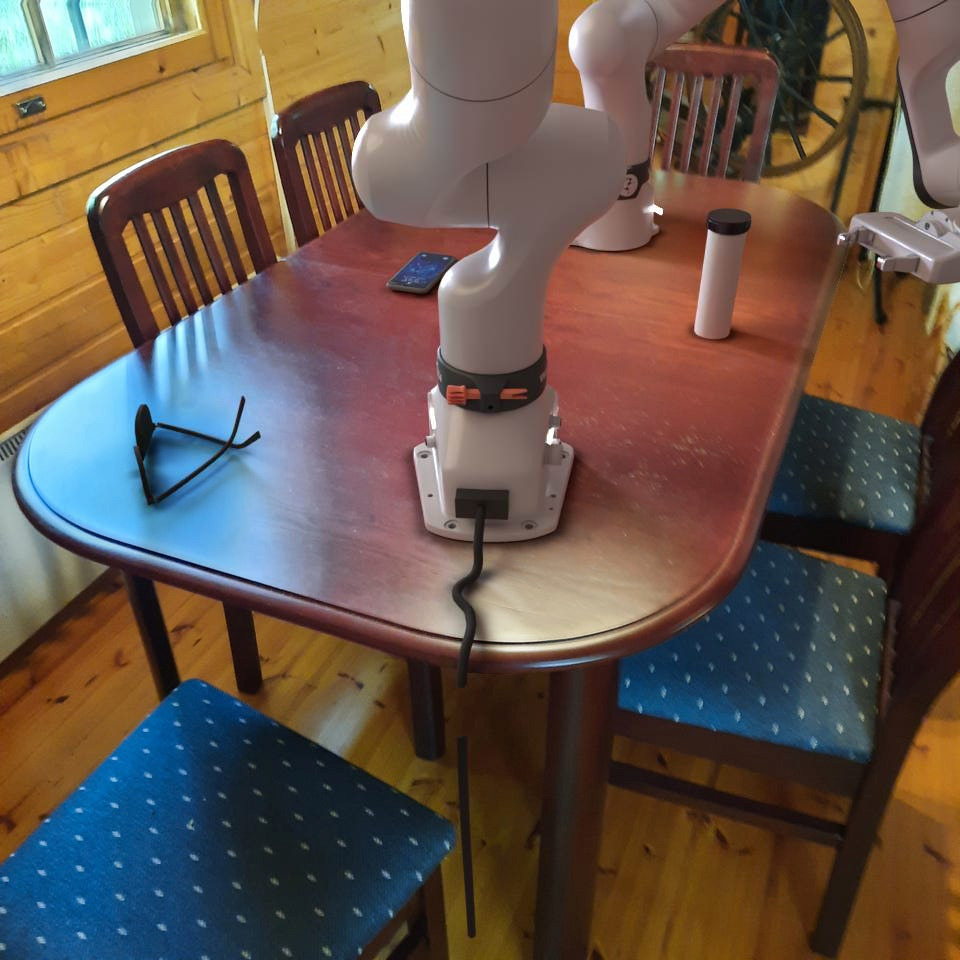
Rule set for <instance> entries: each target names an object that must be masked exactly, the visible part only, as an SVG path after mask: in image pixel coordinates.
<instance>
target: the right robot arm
mask: <svg viewBox="0 0 960 960" xmlns="http://www.w3.org/2000/svg"><path fill="white" fill-rule="evenodd" d="M726 2H728V0H597V1H595V2H593V3H591V5H589V6H588V7H587V8H586V9H585V10H583V12H582V13H581V14H580V15H578V18H576V19H575V21H574V22H573V25H572V26H571V28H570V31H569V35H568V52H569V55H570V58H571V61H572V63H573V65H574V66H575V67H576V69H577V70H578V72H579V76H580V82H581V87H582V88H581V89H582V94H583V100H584V102H583V103H584V107H585V108H589V109H594V110H598V111H603V112H606V113H607V114H608V115H609V116H610V117H611V118H612V119H613V121H614V122H615V123H616V125H617V127H618V128H619V130H620V132H621V134H622V137H623V139H624V142H625V146H626V151H627V173H626V179H625V183H624V186H623V189H622V191H621V193H620V195H619V197H618V199H617V201H616V202H615V204H614V205H613V207H612V208H611V209H610V210H609V211H608V212H607V213H606V214H605V215H604V216H603V217H602V218H600V219H599V220H597V221H596V222H594V223H593V224H591V225H590V226H589V227H588V228H586V229H585V230H584V231H583V232H582V233H581V234H580V235H579V236H578V237H577V238H576V239H575V240H574V241H573V242H572V243H571V244H570V246H579V247H583V248H587V249H591V250H595V251H608V252H612V251H613V252H616V251H617V252H619V251H628V250H633V249H637V248H640V247H642V246H645V245H647V244H648V243H649V241H651V238H652V236H655V235H657V234H658V233H659V232H660V229H659V228H660V226H659V224H656V223H654V212H655V213H657V214H658V215H660V216H662V215H663V208H660V206H659V207H658V206H657V205H655V188H654V187H653V186H652V185H651V184H650V183H649V179H650V172H651V169H652V168H651V167H652V166H651V157H650V156H649V153H650V143H651V142H650V141H651V130H652V121H653V107H652V105H651V103H650V102H649V99H648V94H647V86H646V85H647V84H646V65H647V63H649V62H650V61H652V60H654V59H655V58H657V57H659V56H660V55H661V54H662V53H663V52H665V51H666V50H667V49H669V48H670V47H671V46H673V44H675V43H676V42H677V41H678V40H680V39H681V38H682V37H684V36H685V35H686V34H687V33H688V32H689V31H690V30H692V29H693V28H694V27H695V26H697V24H699V23H700V22H702V21H703V19H705V18H707V16H709V15H710V14H712V13H713V12H714V11H716V10H717V9H718V8H719V7H721V6H722V5H723V4H725V3H726ZM885 3H886V5H887V7H888V11H889V15H890V16H891V19H892V23H893V25H894V28H895V33H896V36H897V42H898V50H899V51H898V52H899V55H898V57H897V61H896V66H895V74H896V75H895V76H896V84H897V90H898V95H899V100H900V104H901V105H900V106H901V108H902V114H903V117H904V122H905V127H906V132H907V135H908V141H909V145H910V149H911V154H912V184H913V189H914V192H915V195H916V196H917V198H918V200H919V201H920V202H921V203H922V204H923V205H924V206H926V207H927V208H930V209H932V210H929V211H927V212H926V213H924V214H923V215H922V216H920V218H918V221H916V220H914V219H911V218H909V217H907V216H905V215H904V214H901V213H898V212H893V211H875V212H873V211H872V212H861V213H856V214H854V215H853V216H852V217H851V220H850V223H849V228H848V232H841V233H839V234H838V237H837V241H836V244H837V245H838V246H839V247H841V248H843V249H847V248H853V247H854V244H855V243H856V244H859V245H861V246H862V247H864V248H866V249H867V250H869V251H871V252H873V253H874V254H876V255H879V257H878V258H877V263H876V265H875V267H876V268H877V269H879V270H881V271H882V272H883V273H885V272H893V271H894V272H899V273H900V272H901V273H908V274H911V275H913V276H915V277H917V278H919V279H920V280H922V281H924V282H925V283H927V284H931V285H938V286H940V285H941V286H942V285H950V284H951V285H952V284H959V283H960V135H958V133H956V131H955V128H954V123H953V118H952V113H951V109H950V103H949V98H948V94H947V93H948V92H947V87H946V86H947V85H946V84H947V78H948V76H949V75H948V74H949V73H950V71H951V69H952V68H953V67H954V66H955V65H956V64H958V63H959V62H960V0H885Z"/></svg>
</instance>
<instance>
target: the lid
mask: <svg viewBox="0 0 960 960" xmlns="http://www.w3.org/2000/svg"><path fill="white" fill-rule="evenodd" d="M752 222H753V221H752V214H750V213H749V212H748V211H746V210H743V209H738V208H731V207H726V208H725V207H721V208H716V209H712V210H710V211H708V214H707V216H706V223H705V227H706V229H707V230H708V229H709V230H710V231H712V232H715V233H719V234H725V235H738V234H743V233H746V234H747V233H748V232H749V231H750V229H751V227H752Z"/></svg>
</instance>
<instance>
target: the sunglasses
mask: <svg viewBox="0 0 960 960" xmlns="http://www.w3.org/2000/svg"><path fill="white" fill-rule="evenodd" d="M245 404H246V398H245V396H244V395H241V396H240V401H239V405H238V408H237V409H238V410H237V413H236V417H235V421H234V425H233V429H232V432H231V435H230V437H229V439H228V440H227V441H226V440H223V439H220V438H217V437H214V436H211V435H208V434H204V433H201V432H198V431H195V430H192V429H188V428H184V427H180V426H176V425H172V424H169V423H164V422H159V421H157V422H153V418H152V414H151V411H150V408H149V406H148V404H146V403H142V404H140V405H139V406H138V409H137V411H136V413H135V418H134V436H135V444H136V445H133V447H132V448H133V452H134V455H135V460H136V463H137V467H138V471H139V475H140V479H141V485H142V489H143V493H144V497H145V500H146V503H147V505H148V506H151V505H154V504H155V501H156V503H157V504H160V503H162V501H164V500H165V499H167V498H168V497H170V496H171V495H172V494H174V493H175V492H177V491H178V490H179V489H181V488H182V487H184V486H185V485H187V484H188V483H189V482H191V481H192V480H193V479H194V478H196V477H197V476H198V475H200V474H202V473H203V472H204V471H205V470H206V469H208V467H210V466H211V465H212V464H213V463H215V462H216V461H217V460H218V459H220V457H222V455H223V454H224V453H225V452H226V451H228V449H229V448H231V449H233V450H242V449H246V448H247V447H249V446H250V445H252V444H254V443H255V442H256V441H258V440H260V439H261V438H262V435H261V432H260V430H256V431H255V432H254V433H253V434H252V435H250V436H249V437H248V438H247V439H246V440H245V441H244V442H241V443H233V442H234V441H235V438H236V435H237V434H238V429H239V426H240V423H241V419H242V415H243V412H244V409H245ZM157 428H160V429H164V430H168V431H172V432H175V433H179V434H183V435H188V436H191V437H195V438H199V439H202V440H205V441H209V442H211V443H215V444H218V445H221V446H223V447H221V449H220V450H219V451H217V452H216V453H215V454H214V455H213V456H212V457H211V458H209V459H208V460H207V461H206V462H204V463H203V464H202V465H200V466H199V467H198V468H196V469H195V470H193V471H192V472H191V473H189V474H188V475H187V476H186V477H184V478H183V479H180V481H178V482H177V483H176V484H174V485H172V486H171V487H169V488H168V489H166V490H165V491H163V492H162V493H161V494H160V495H158V496H157V497H154V495H152V491H151V487H150V484H149V479H148V474H147V470H146V467H145V463H144V461H145V459H146V456H147V453H148V450H149V448H150V445H151V442H152V438H153V435H154V432H155V430H157Z"/></svg>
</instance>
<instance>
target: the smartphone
mask: <svg viewBox="0 0 960 960" xmlns="http://www.w3.org/2000/svg"><path fill="white" fill-rule="evenodd" d="M456 263H457V257H456V255H451V254H445V253H444V254H443V253H436V252H428V251H420V252H417V253H416V254H415V255H414V257H412V258H411V259H410V260H409V261H408V262H407V263H406V264H405V265H404V266H403V267H402V268H401V269H400V270H399V271H398V272H397V273H396V274H395V275H394V276H392V278H390V279H389V280H388V281H387V283H386V289H389V290H392V291H399V292H405V293H413V294H419V295H424V294H427V293H428V292H429V291H430V290H432V288H433V287H434V286H435V285H436V284H437V283H438V282H439V281H440V280H441V279H442V278H443V277H444V275H445V274H446V273H447V271H448V270H449V269H450V268H451V267H452V266H453V265H455V264H456Z"/></svg>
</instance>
